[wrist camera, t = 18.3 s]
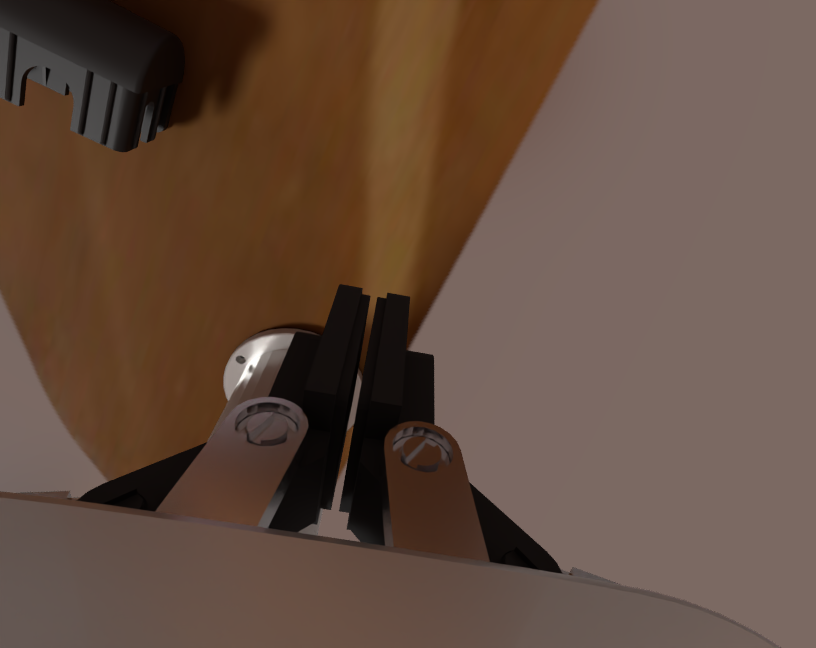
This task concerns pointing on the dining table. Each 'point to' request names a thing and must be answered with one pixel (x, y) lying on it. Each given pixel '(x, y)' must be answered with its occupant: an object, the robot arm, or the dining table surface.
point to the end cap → (93, 65)
